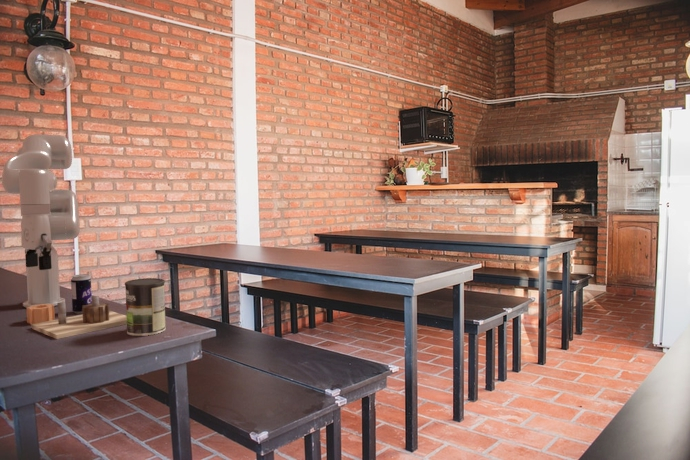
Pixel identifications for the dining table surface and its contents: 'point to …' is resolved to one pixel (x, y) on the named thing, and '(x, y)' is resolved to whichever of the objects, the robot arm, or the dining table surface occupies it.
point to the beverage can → (80, 292)
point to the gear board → (81, 320)
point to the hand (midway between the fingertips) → (38, 268)
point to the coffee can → (145, 306)
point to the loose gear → (40, 313)
